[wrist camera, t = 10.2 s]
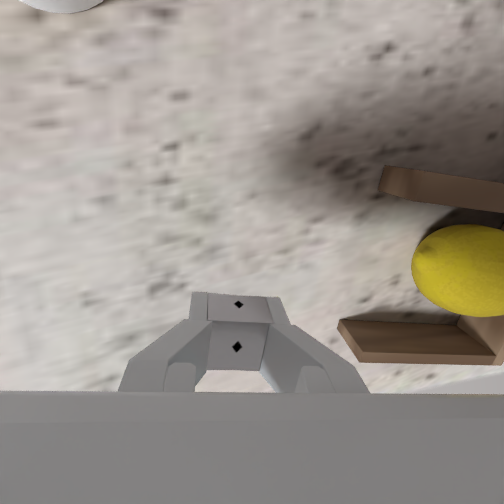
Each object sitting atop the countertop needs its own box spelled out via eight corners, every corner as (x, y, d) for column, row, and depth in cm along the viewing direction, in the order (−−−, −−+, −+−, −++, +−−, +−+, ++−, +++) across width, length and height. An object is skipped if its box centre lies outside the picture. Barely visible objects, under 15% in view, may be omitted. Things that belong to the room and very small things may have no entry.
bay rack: (449, -57, 14) (523, -119, 10) (663, 10, 16) (777, -22, 13) (337, 328, 21) (359, 362, 18) (493, 335, 24) (538, 366, 20)
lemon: (387, 223, 20) (478, 246, 21) (380, 303, 19) (476, 320, 21) (463, 199, 14) (577, 232, 16) (459, 308, 13) (579, 332, 15)
